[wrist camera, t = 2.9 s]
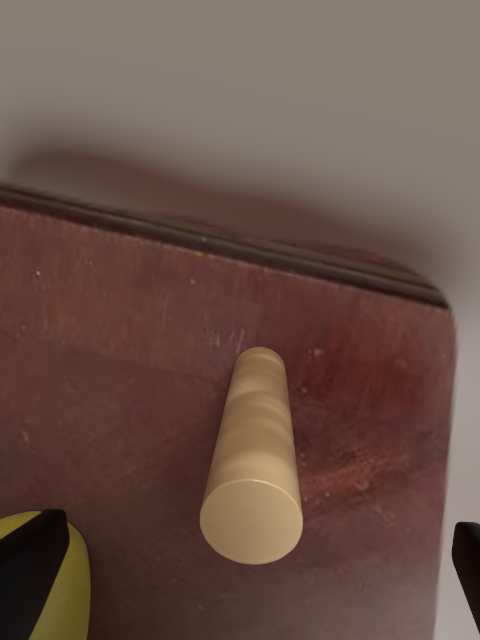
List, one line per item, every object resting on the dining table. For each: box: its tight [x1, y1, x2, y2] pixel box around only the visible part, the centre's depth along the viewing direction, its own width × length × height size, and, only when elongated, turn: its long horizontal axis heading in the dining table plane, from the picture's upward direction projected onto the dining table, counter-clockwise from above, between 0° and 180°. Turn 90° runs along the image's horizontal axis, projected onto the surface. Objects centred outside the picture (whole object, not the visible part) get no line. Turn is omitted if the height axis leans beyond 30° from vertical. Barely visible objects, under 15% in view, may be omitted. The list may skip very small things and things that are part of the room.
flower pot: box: [0, 511, 91, 640], centre depth 17 cm, size 10×10×7 cm
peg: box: [200, 347, 303, 564], centre depth 13 cm, size 2×2×9 cm
